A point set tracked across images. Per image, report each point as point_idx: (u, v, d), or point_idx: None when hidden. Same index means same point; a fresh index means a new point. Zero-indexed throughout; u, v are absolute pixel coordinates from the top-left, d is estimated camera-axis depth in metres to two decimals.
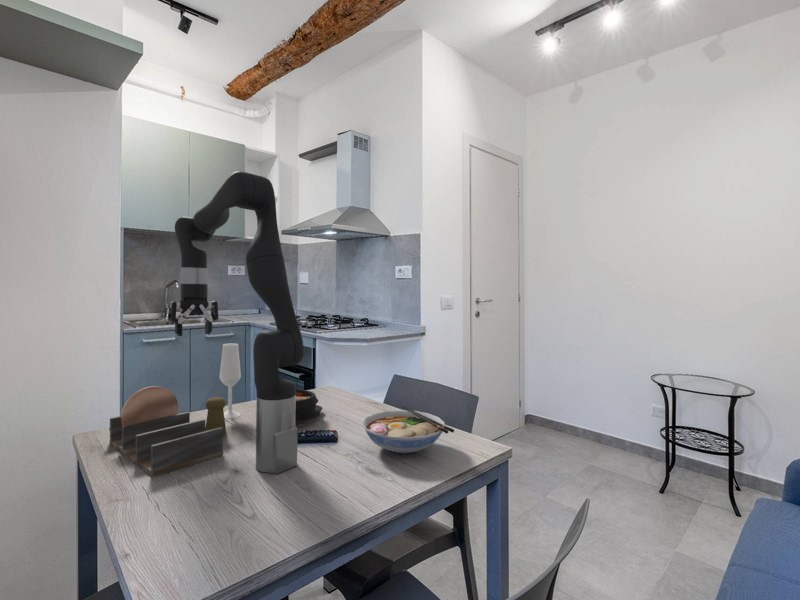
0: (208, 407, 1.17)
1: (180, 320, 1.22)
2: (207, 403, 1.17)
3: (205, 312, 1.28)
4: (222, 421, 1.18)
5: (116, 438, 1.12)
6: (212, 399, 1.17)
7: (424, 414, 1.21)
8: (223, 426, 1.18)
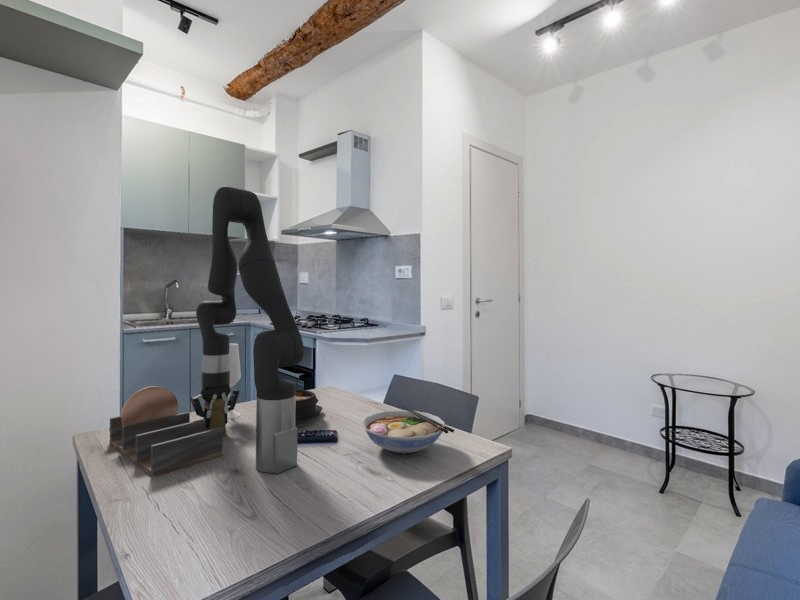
0: None
1: (208, 414, 1.16)
2: (207, 403, 1.17)
3: None
4: (222, 421, 1.18)
5: (116, 438, 1.12)
6: None
7: (424, 414, 1.21)
8: (223, 426, 1.18)
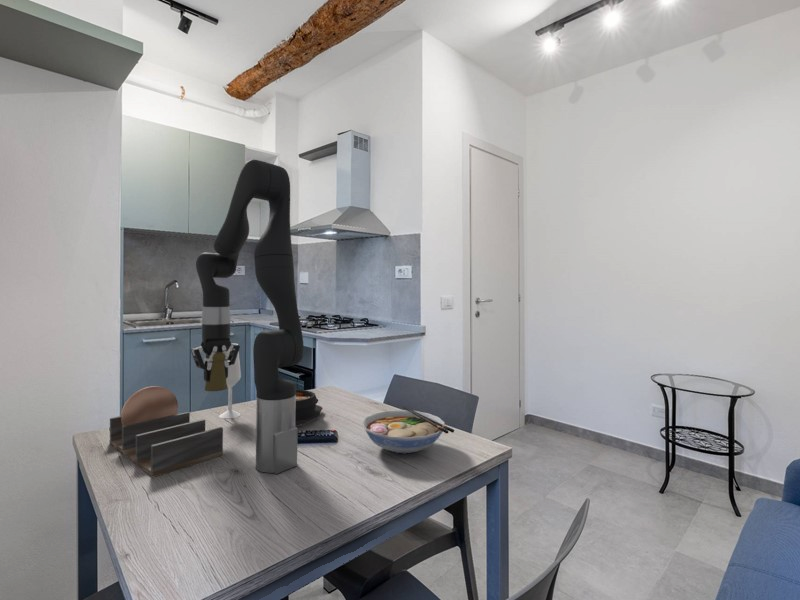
0: None
1: (209, 366, 1.16)
2: (207, 356, 1.16)
3: (225, 355, 1.19)
4: (223, 374, 1.18)
5: (116, 438, 1.12)
6: None
7: (424, 414, 1.21)
8: (223, 379, 1.18)
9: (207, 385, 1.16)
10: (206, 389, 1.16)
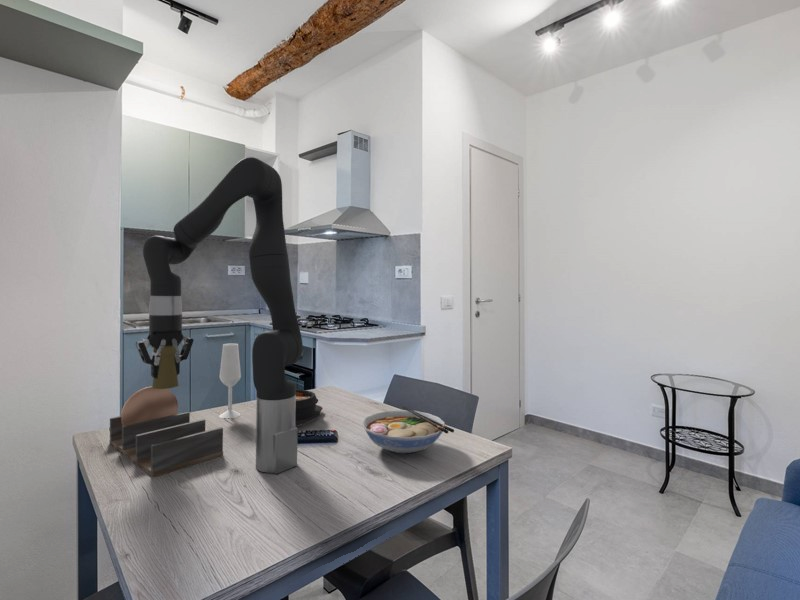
0: None
1: (156, 361, 1.05)
2: (155, 350, 1.06)
3: None
4: (172, 370, 1.07)
5: (116, 438, 1.12)
6: None
7: (424, 414, 1.21)
8: (173, 376, 1.07)
9: (154, 382, 1.05)
10: (153, 386, 1.06)
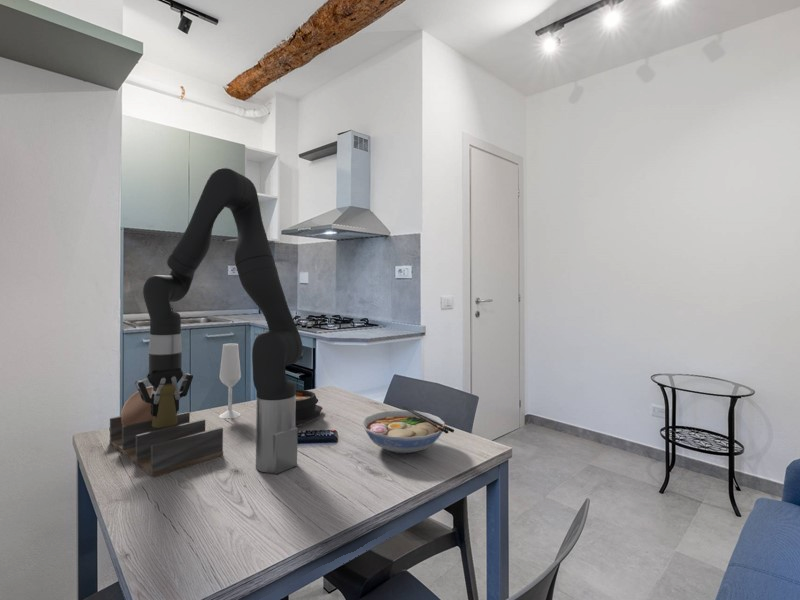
0: None
1: (156, 400, 1.05)
2: (155, 388, 1.06)
3: (175, 387, 1.08)
4: (172, 408, 1.07)
5: (116, 438, 1.12)
6: None
7: (424, 414, 1.21)
8: (173, 414, 1.07)
9: (154, 420, 1.06)
10: (153, 425, 1.06)
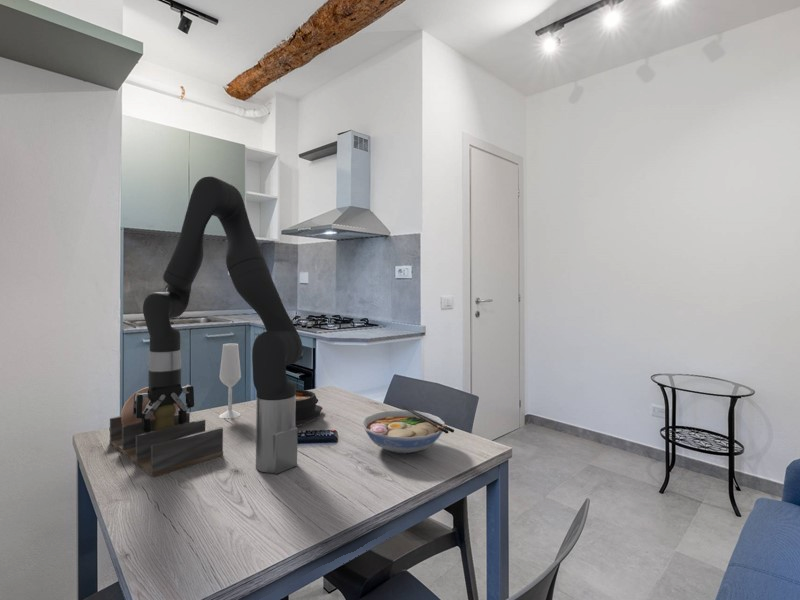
0: (155, 415, 1.06)
1: (147, 415, 1.04)
2: None
3: (178, 401, 1.09)
4: None
5: (116, 438, 1.12)
6: None
7: (424, 414, 1.21)
8: None
9: None
10: None
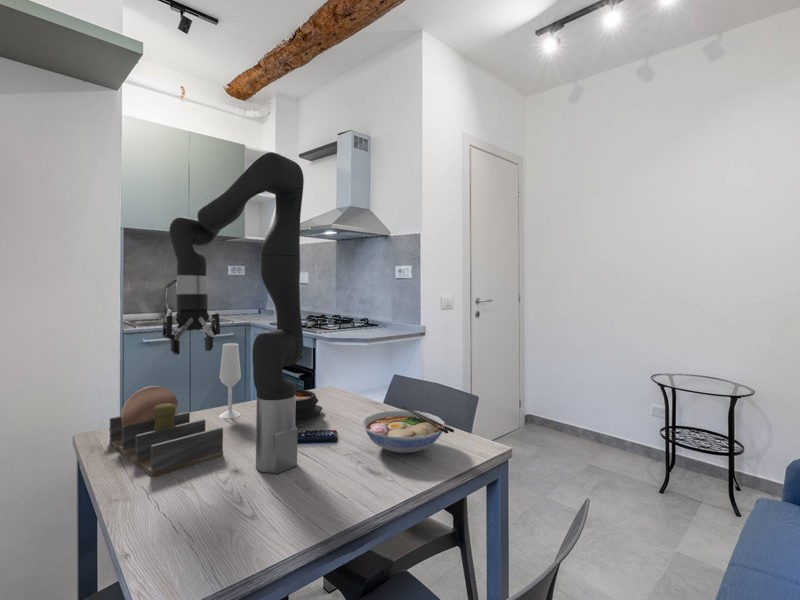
0: (155, 415, 1.06)
1: (177, 336, 1.06)
2: (154, 410, 1.06)
3: (205, 326, 1.12)
4: None
5: (116, 438, 1.12)
6: (160, 406, 1.07)
7: (424, 414, 1.21)
8: None
9: None
10: None
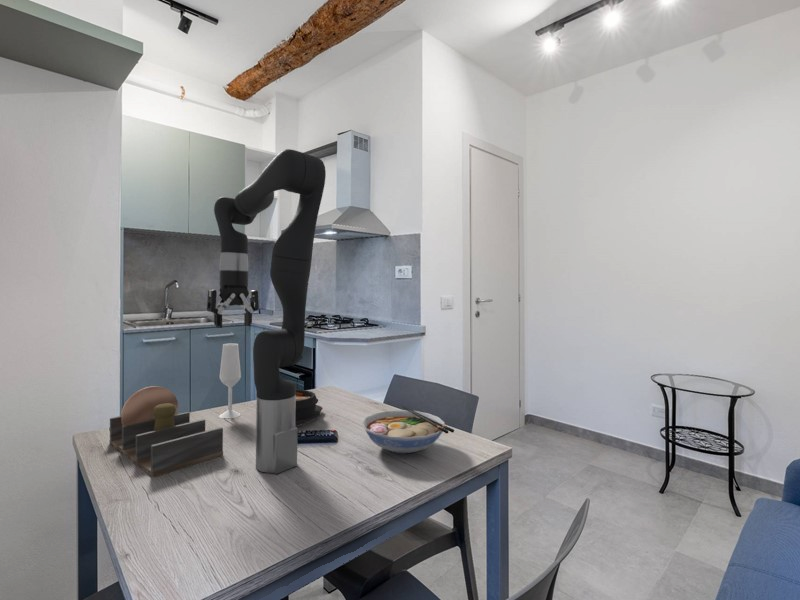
0: (155, 415, 1.06)
1: (220, 310, 1.11)
2: (154, 410, 1.06)
3: (245, 302, 1.17)
4: None
5: (116, 438, 1.12)
6: (160, 406, 1.07)
7: (424, 414, 1.21)
8: None
9: None
10: None
